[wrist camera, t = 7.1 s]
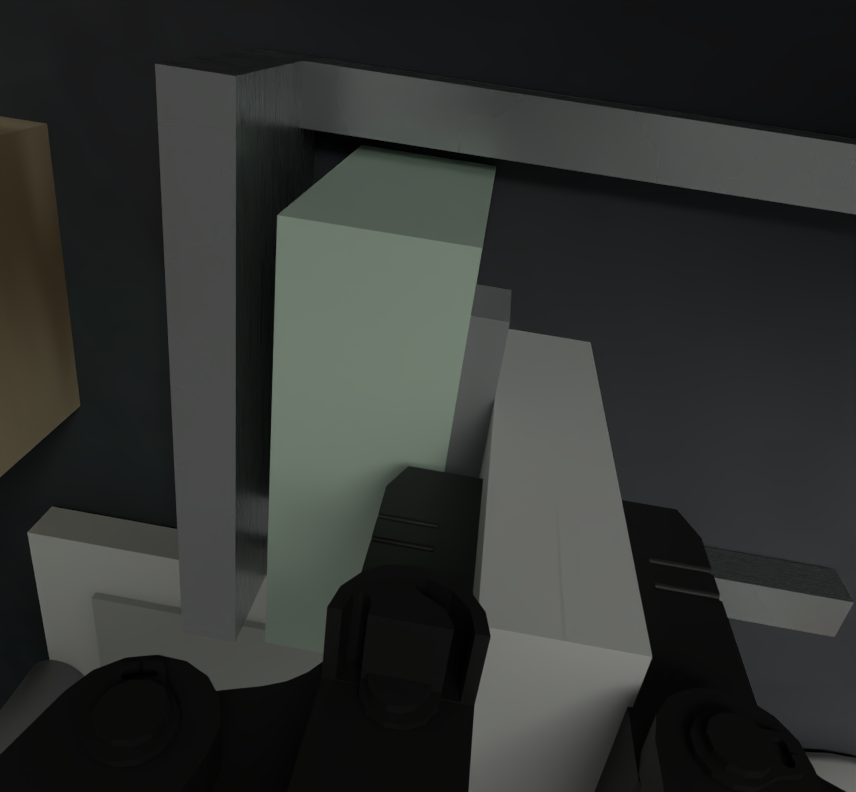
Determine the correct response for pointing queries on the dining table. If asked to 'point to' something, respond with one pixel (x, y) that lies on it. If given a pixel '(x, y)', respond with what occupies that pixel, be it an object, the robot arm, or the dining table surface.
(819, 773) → the milk bottle
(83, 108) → the dining table surface
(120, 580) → the seat plate
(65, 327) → the block
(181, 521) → the housing frame
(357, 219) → the cover
